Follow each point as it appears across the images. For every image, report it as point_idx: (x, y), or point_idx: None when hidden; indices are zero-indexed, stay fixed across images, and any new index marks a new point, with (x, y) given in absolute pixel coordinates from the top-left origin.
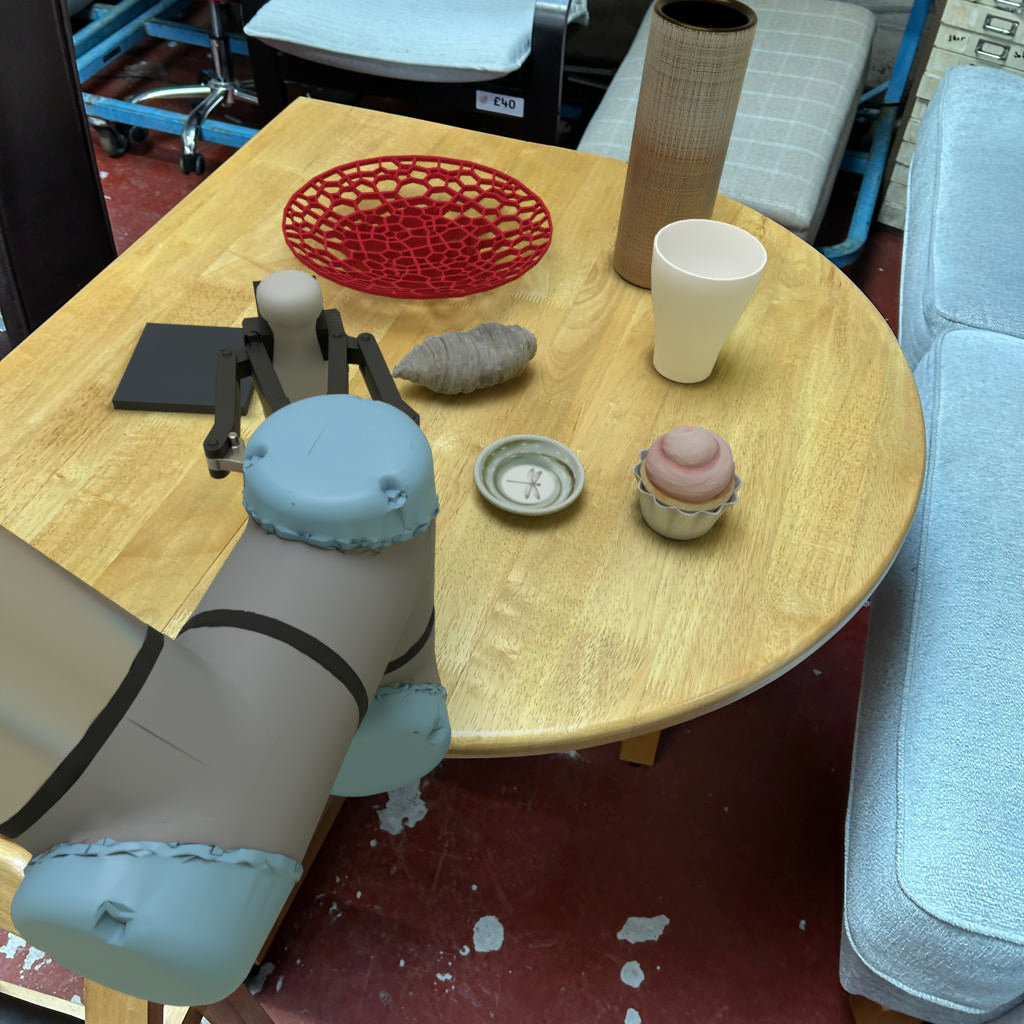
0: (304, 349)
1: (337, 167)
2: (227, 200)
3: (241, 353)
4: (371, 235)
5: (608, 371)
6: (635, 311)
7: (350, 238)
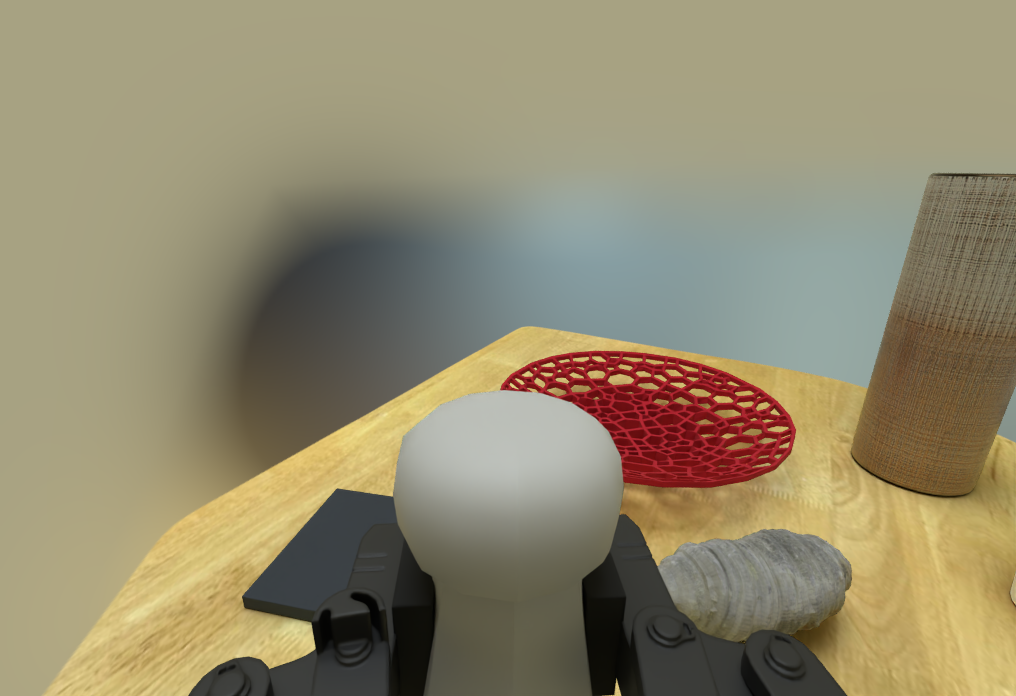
0: (538, 673)
1: (552, 357)
2: (454, 382)
3: (301, 680)
4: None
5: (953, 618)
6: (924, 521)
7: None
